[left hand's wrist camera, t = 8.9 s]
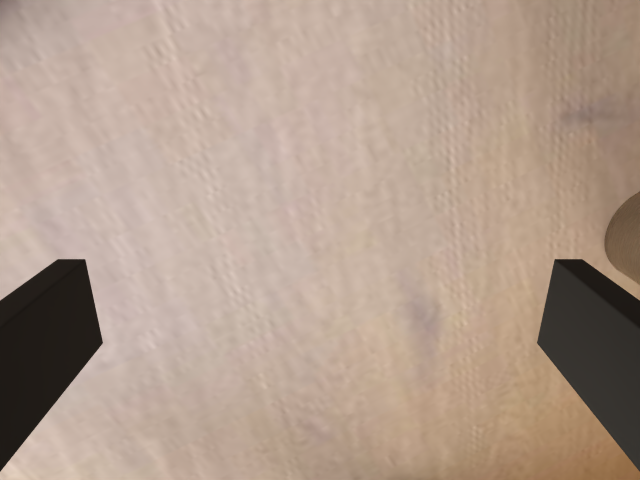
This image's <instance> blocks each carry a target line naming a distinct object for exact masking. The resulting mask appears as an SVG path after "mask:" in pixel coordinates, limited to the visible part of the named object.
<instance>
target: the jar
mask: <svg viewBox="0 0 640 480" xmlns="http://www.w3.org/2000/svg"><path fill="white" fill-rule="evenodd" d="M605 249H606V253H607V257H608V259H609V261H610V262H611V264H612V265H613V266H614V267H615V268H616V269H617V270H618V271H620V272H621V273H623V274H624V275H626V276H627V277H629V278H630V279H632V280H633V281H635V282H636V283H638V284H639V285H640V192H639V193H637V194H635V195H634V196H633V197H631V198H630V199H629V200H627V201H626V202H625V203H624V204H623V205H622V206H621V207H620V208H619V209H618V211H617V212H616V213H615V215H614V216H613V218H612V220H611V221H610V224H609V226H608V229H607V232H606V237H605Z"/></svg>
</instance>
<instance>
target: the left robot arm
mask: <svg viewBox="0 0 640 480" xmlns="http://www.w3.org/2000/svg"><path fill="white" fill-rule="evenodd" d="M102 343H103V341H102V337H101V332H100V327H99V322H98V318H97V313H96V308H95V303H94V299H93V294H92V289H91V284H90V280H89V275H88V270H87V265H86V261H85V259H58V260H56V261H55V262H53V263H52V264H51V265H49V266H48V267H46V268H45V269H44V270H42V271H41V272H40V273H38V274H37V275H35V276H34V277H33V278H31V279H30V280H28V281H27V282H26V283H24V284H23V285H21V286H20V287H19V288H17V289H16V290H14V291H13V292H12V293H10V294H9V295H8V296H6V297H5V298H3V299H2V300H1V301H0V471H1V470H2V469H3V467H4V466H5V465H6V464H7V462H8V461H9V460H10V459H11V457H12V456H13V455H14V454H15V452H16V451H17V450H18V449H19V447H20V446H21V445H22V444H23V442H24V441H25V440H26V439H27V437H28V436H29V435H30V434H31V432H32V431H33V430H34V429H35V427H36V426H37V425H38V424H39V422H40V421H41V420H42V419H43V417H44V416H45V415H46V414H47V412H48V411H49V410H50V409H51V407H52V406H53V405H54V404H55V402H56V401H57V400H58V399H59V397H60V396H61V395H62V394H63V392H64V391H65V390H66V389H67V387H68V386H69V385H70V384H71V382H72V381H73V380H74V379H75V377H76V376H77V375H78V374H79V372H80V371H81V370H82V369H83V367H84V366H85V365H86V363H87V362H88V361H89V360H90V358H91V357H92V356H93V355H94V353H95V352H96V351H97V350H98V348H99V347H100V346H101V345H102ZM537 343H538V345H539V346H540V347H541V348H542V350H543V351H544V352H545V353H546V355H547V356H548V357H549V358H550V360H551V361H552V362H553V363H554V365H555V366H556V367H557V369H558V370H559V371H560V372H561V374H562V375H563V376H564V377H565V379H566V380H567V381H568V382H569V384H570V385H571V386H572V387H573V389H574V390H575V391H576V392H577V394H578V395H579V396H580V397H581V399H582V400H583V401H584V402H585V404H586V405H587V406H588V407H589V409H590V410H591V411H592V412H593V414H594V415H595V416H596V417H597V419H598V420H599V421H600V422H601V424H602V425H603V426H604V427H605V429H606V430H607V431H608V432H609V434H610V435H611V436H612V437H613V439H614V440H615V441H616V442H617V444H618V445H619V446H620V447H621V449H622V450H623V451H624V452H625V454H626V455H627V456H628V457H629V459H630V460H631V461H632V462H633V464H634V465H635V466H636V467H637V469H638V470H639V471H640V301H639V300H638V299H637V298H635V297H634V296H632V295H631V294H630V293H628V292H627V291H626V290H624V289H623V288H621V287H620V286H619V285H617V284H616V283H614V282H613V281H612V280H610V279H609V278H607V277H606V276H605V275H603V274H602V273H600V272H599V271H598V270H596V269H595V268H594V267H592V266H591V265H589V264H588V263H587V262H585V261H584V260H582V259H555V261H554V265H553V270H552V275H551V280H550V284H549V289H548V294H547V299H546V303H545V308H544V313H543V318H542V322H541V327H540V332H539V337H538V341H537Z"/></svg>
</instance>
